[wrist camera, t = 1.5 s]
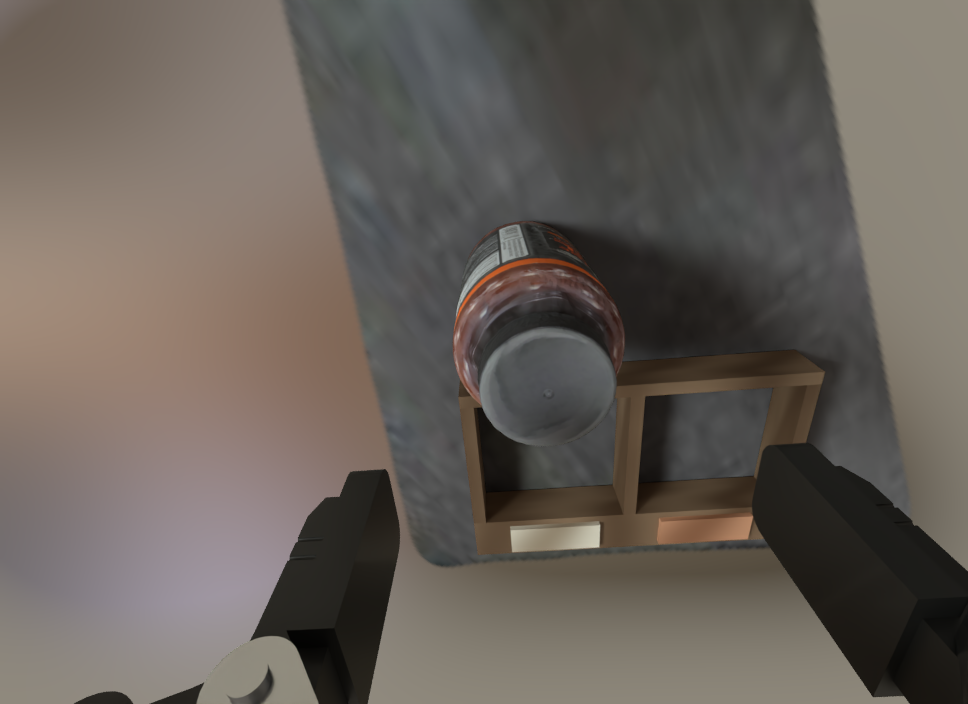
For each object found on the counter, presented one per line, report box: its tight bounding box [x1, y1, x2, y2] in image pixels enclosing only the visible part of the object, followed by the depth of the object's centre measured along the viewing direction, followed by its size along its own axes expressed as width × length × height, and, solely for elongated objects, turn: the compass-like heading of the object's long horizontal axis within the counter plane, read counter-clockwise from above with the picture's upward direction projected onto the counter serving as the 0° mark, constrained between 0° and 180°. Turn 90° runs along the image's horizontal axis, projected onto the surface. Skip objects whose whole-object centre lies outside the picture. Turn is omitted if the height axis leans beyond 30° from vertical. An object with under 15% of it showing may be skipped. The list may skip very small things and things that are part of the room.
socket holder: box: [459, 350, 825, 555], centre depth 27 cm, size 18×11×3 cm, turn 95°
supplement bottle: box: [453, 221, 625, 446], centre depth 18 cm, size 6×6×11 cm
